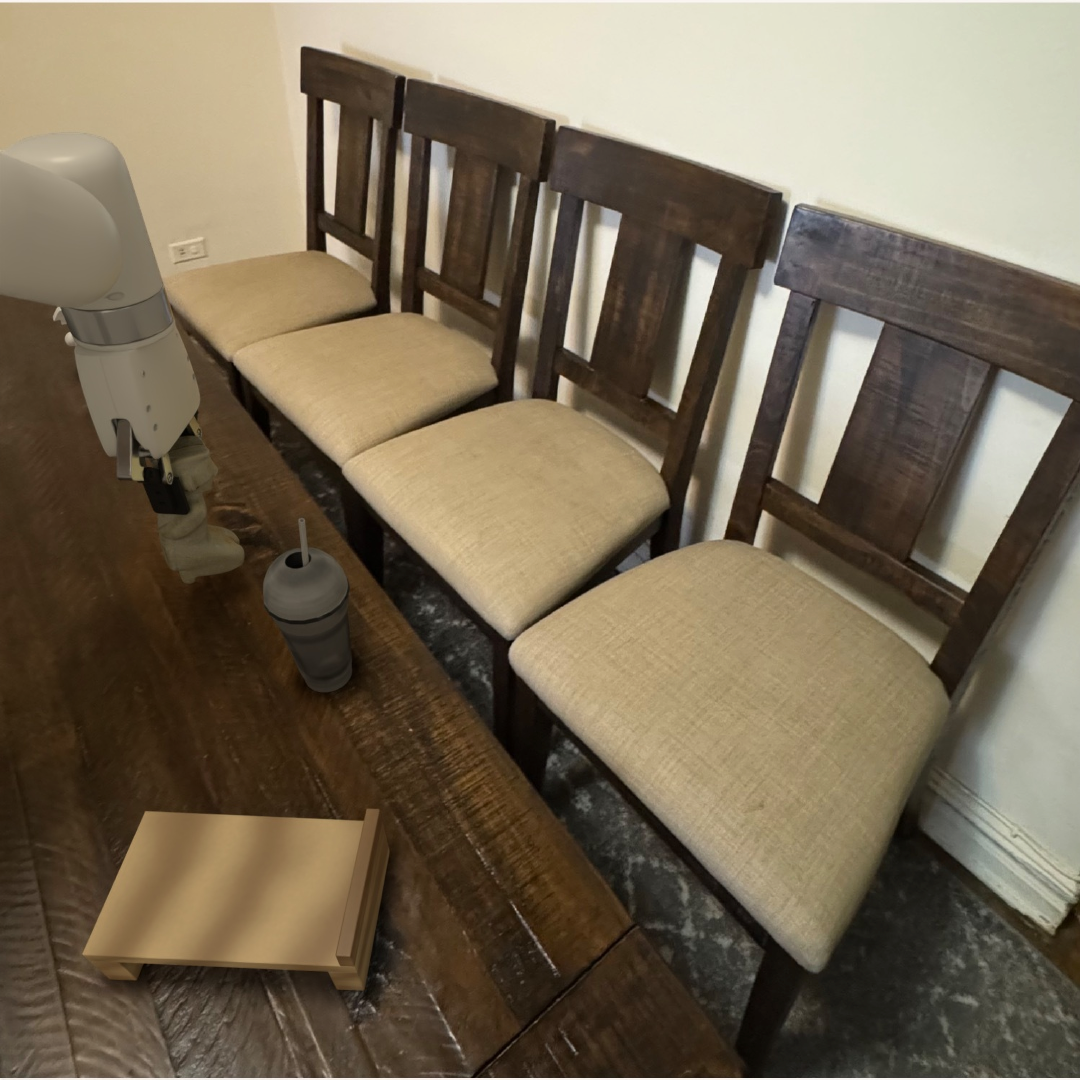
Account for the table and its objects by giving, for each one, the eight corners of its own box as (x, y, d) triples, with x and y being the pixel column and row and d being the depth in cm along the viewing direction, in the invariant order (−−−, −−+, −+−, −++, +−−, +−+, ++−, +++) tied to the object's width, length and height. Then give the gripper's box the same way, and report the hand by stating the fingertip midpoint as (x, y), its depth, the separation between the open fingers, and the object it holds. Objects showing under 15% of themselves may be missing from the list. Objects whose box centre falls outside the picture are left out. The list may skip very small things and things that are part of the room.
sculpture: (253, 573, 77) (216, 457, 66) (179, 597, 74) (130, 480, 63) (237, 538, 80) (201, 423, 70) (167, 561, 77) (118, 444, 67)
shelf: (108, 979, 52) (68, 944, 47) (165, 840, 59) (136, 797, 55) (364, 991, 52) (350, 956, 47) (389, 850, 59) (379, 808, 55)
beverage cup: (306, 639, 75) (261, 484, 61) (376, 648, 74) (346, 494, 60) (277, 699, 69) (221, 544, 56) (352, 709, 69) (314, 555, 55)
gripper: (120, 267, 65) (180, 441, 77) (11, 363, 52) (103, 552, 64) (206, 272, 65) (252, 444, 77) (118, 368, 52) (190, 556, 64)
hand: (184, 492), depth 70 cm, fingers closed on sculpture, 4 cm apart
